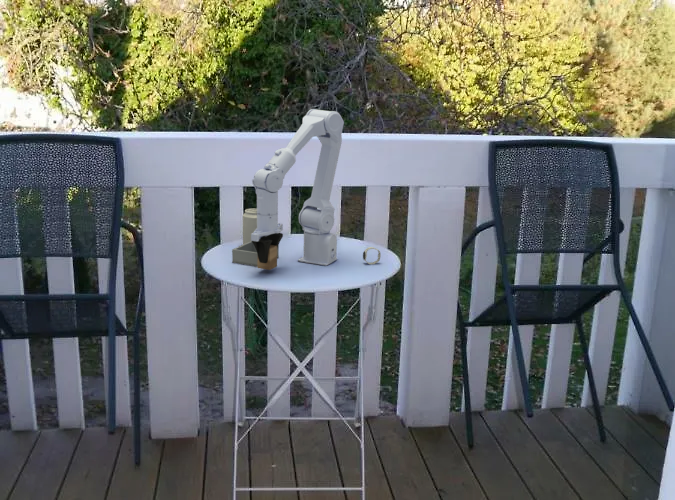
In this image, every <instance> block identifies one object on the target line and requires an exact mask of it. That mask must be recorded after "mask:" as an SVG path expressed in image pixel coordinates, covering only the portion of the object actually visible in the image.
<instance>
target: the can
mask: <svg viewBox="0 0 675 500" xmlns="http://www.w3.org/2000/svg"><path fill="white" fill-rule="evenodd" d="M256 228H257V207H256V208H246V209H245V210H244V213H243V214H242V245H244V244H246V243H248V242H250V241H251V234H252V233H253V232H254V231H255V230H256Z"/></svg>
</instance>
